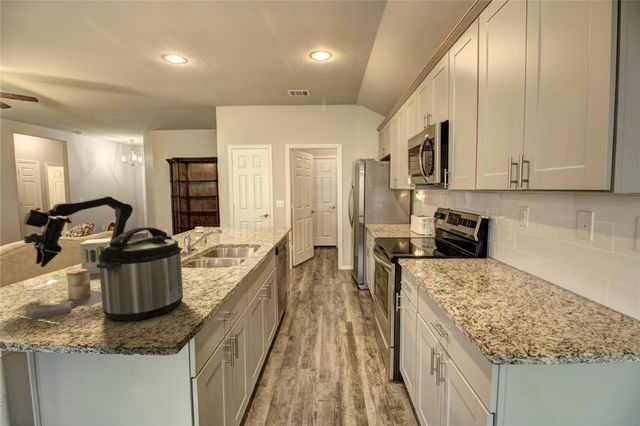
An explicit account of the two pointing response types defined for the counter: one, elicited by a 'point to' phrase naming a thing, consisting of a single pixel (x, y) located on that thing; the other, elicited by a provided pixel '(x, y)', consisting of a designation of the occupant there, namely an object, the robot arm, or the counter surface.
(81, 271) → the birch block
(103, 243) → the supplement box
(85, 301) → the rubber mat
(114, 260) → the pressure cooker
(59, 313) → the stone block
